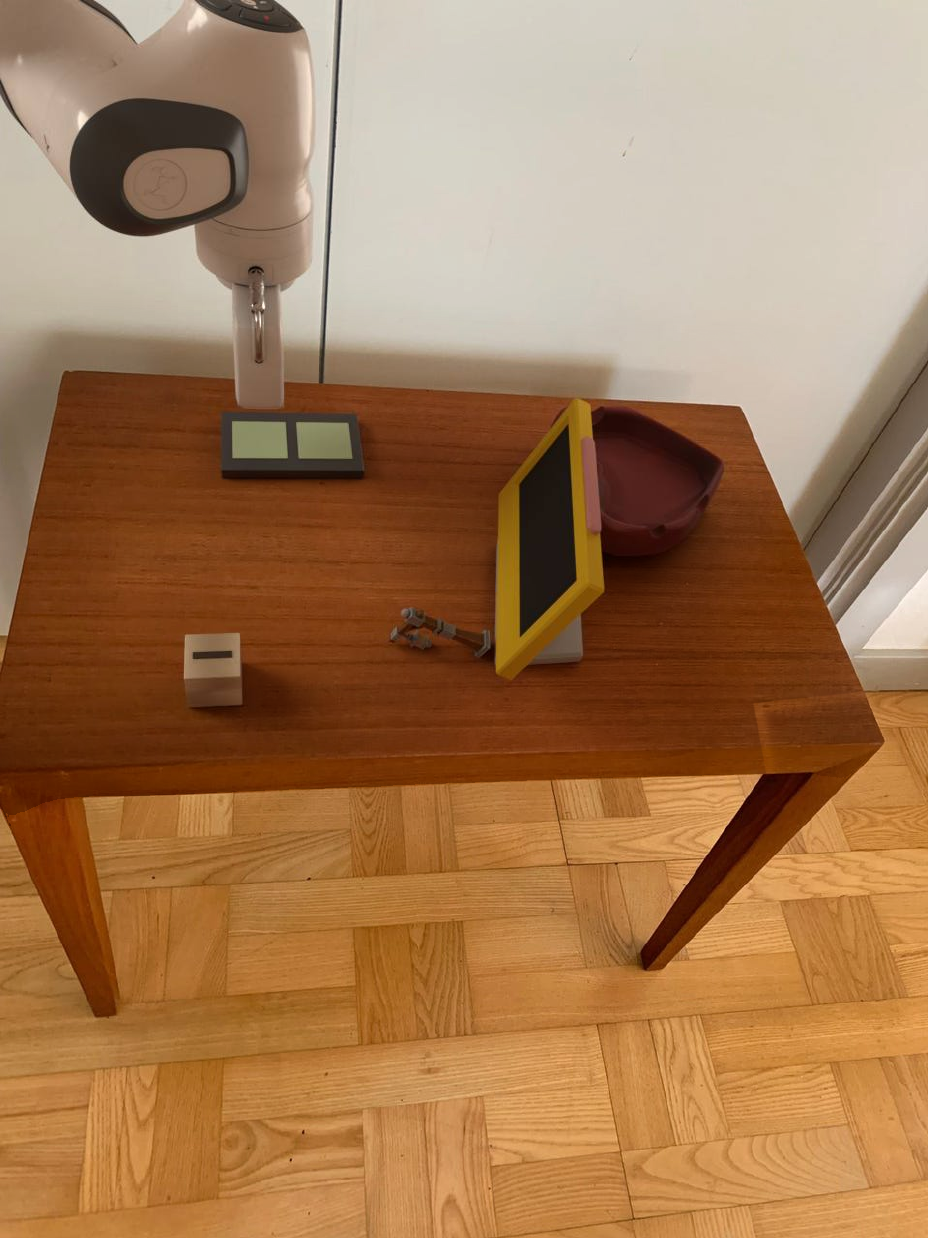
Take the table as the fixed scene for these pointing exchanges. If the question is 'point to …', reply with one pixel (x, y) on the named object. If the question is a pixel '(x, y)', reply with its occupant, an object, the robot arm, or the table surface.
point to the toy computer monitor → (548, 548)
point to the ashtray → (648, 481)
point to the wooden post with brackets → (443, 629)
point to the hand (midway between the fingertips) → (258, 379)
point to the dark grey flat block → (290, 445)
